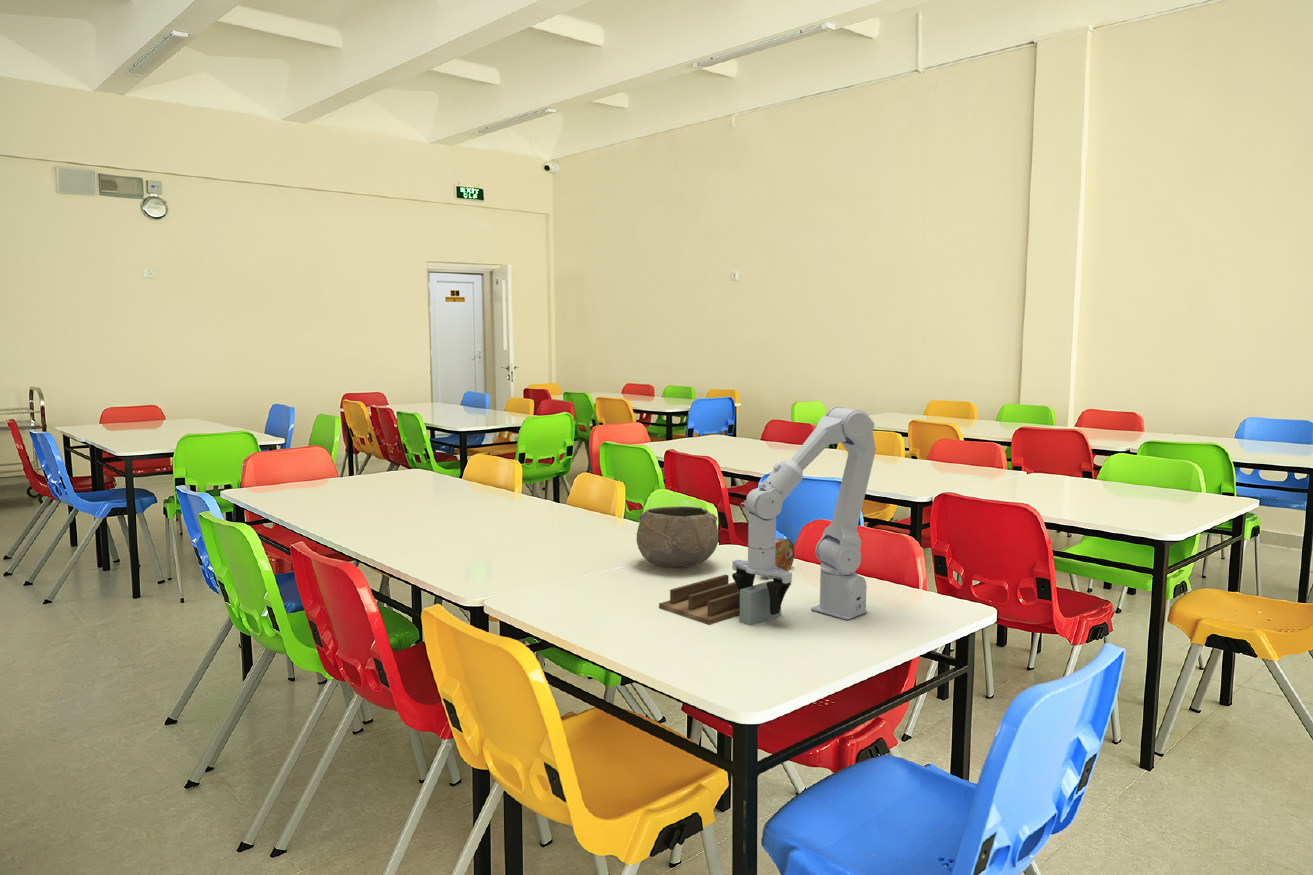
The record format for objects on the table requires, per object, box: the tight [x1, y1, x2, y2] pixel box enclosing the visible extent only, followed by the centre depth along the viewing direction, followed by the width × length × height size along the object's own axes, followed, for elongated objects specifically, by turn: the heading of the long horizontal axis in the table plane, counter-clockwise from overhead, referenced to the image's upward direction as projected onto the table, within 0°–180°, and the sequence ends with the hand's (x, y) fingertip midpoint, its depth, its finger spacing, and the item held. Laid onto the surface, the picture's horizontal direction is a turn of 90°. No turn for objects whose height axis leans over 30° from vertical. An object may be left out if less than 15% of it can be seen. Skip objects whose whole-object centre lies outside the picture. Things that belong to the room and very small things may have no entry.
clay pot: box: [636, 506, 719, 569], centre depth 219 cm, size 21×21×15 cm
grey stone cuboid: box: [739, 579, 782, 626], centre depth 179 cm, size 3×10×7 cm, turn 133°
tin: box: [775, 537, 795, 572], centre depth 214 cm, size 15×3×8 cm, turn 143°
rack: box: [658, 574, 740, 626], centre depth 188 cm, size 15×22×4 cm
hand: (760, 609), depth 179 cm, fingers open, 7 cm apart
